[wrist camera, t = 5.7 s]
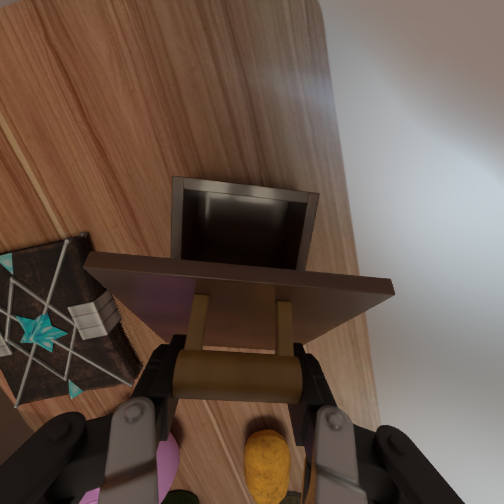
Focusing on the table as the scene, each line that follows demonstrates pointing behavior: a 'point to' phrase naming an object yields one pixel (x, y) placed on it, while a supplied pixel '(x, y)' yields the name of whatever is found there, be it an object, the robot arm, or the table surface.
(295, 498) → the tall handled vase
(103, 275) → the lid
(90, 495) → the teapot
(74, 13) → the table surface
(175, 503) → the wine bottle
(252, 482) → the potato
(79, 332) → the book
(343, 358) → the table surface
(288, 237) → the chest
